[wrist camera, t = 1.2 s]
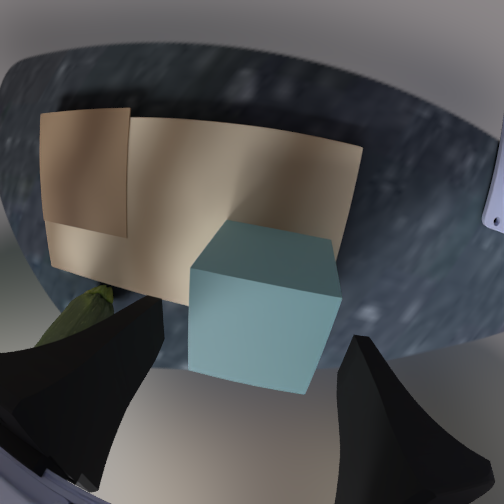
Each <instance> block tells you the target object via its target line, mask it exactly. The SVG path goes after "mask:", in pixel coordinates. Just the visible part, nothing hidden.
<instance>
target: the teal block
mask: <svg viewBox="0 0 504 504" xmlns="http://www.w3.org/2000/svg"><path fill="white" fill-rule="evenodd" d="M341 300H342V294H341V288H340V282H339V277H338V272H337V267H336V261H335V256H334V252H333V247H332V242H331V240H329V239H324V238H319V237H314V236H309V235H304V234H299V233H294V232H289V231H284V230H279V229H274V228H268V227H263V226H258V225H252V224H247V223H242V222H236V221H231V220H226V221H225V222H224V224H223V225H222V226H221V228H220V229H219V230H218V231H217V233H216V234H215V235H214V237H213V238H212V239H211V241H210V242H209V243H208V245H207V246H206V247H205V249H204V250H203V251H202V253H201V254H200V255H199V257H198V258H197V259H196V260H195V262H194V263H193V265H192V266H191V267H190V283H189V322H188V370H191V371H195V372H198V373H202V374H206V375H210V376H214V377H218V378H223V379H227V380H231V381H235V382H240V383H244V384H249V385H254V386H259V387H264V388H269V389H275V390H280V391H286V392H292V393H298V394H305V393H306V390H307V388H308V386H309V384H310V381H311V379H312V376H313V374H314V372H315V369H316V367H317V364H318V362H319V360H320V357H321V355H322V352H323V349H324V347H325V344H326V342H327V339H328V336H329V334H330V331H331V328H332V326H333V323H334V320H335V318H336V315H337V312H338V309H339V306H340V303H341Z"/></svg>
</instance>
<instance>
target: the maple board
mask: <svg viewBox="0 0 504 504" xmlns="http://www.w3.org/2000/svg"><path fill="white" fill-rule="evenodd" d="M130 116H131V108H105V109H86V110H73V111H62V112H53V113H44V114H41V119H40V179H41V195H42V207H43V217H44V220H45V225H46V233H47V240H48V247H49V253H50V259H51V264H52V266H53V267H56V268H59V269H62V270H65V271H68V272H71V273H74V274H77V275H80V276H83V277H87V278H90V279H93V280H96V281H100V282H103V283H106V284H110V285H113V286H116V287H120V288H123V289H127V290H130V291H134V292H137V293H141V294H145V295H149V296H153V297H157V298H161V299H163V300H167V301H171V302H175V303H179V304H183V305H187V306H189V283H190V267H191V266H192V265H193V263H194V262H195V260H196V259H197V258H198V257H199V255H200V254H201V253H202V251H203V250H204V249H205V247H206V246H207V245H208V243H209V242H210V241H211V239H212V238H213V237H214V235H215V234H216V233H217V231H218V230H219V229H220V228H221V226H222V225H223V224H224V222H225V221H226V220H231V221H236V222H242V223H247V224H252V225H258V226H263V227H268V228H274V229H279V230H284V231H289V232H294V233H299V234H304V235H309V236H314V237H319V238H324V239H329V240H331V242H332V247H333V252H334V256H335V261H336V259H337V255H338V252H339V248H340V245H341V241H342V237H343V233H344V229H345V226H346V222H347V218H348V214H349V210H350V205H351V201H352V197H353V193H354V188H355V184H356V179H357V175H358V170H359V165H360V161H361V156H362V151H363V148H362V147H360V146H357V145H353V144H348V143H344V142H340V141H335V140H331V139H326V138H322V137H317V136H312V135H307V134H301V133H296V132H290V131H284V130H278V129H272V128H265V127H258V126H251V125H243V124H235V123H226V122H217V121H206V120H193V119H178V118H157V117H130Z"/></svg>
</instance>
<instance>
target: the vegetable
mask: <svg viewBox="0 0 504 504" xmlns="http://www.w3.org/2000/svg"><path fill="white" fill-rule="evenodd" d="M106 286H107V285H100V286H98V287H94V288H93V289H91V290H88V291H86V292H85V293H84V294H82V295H80V296H78V297H76V298H75V299H74V300H72V301H71V302H70V303H69V305H68V306H67V307H66V308H65V310H64V311H63V312H62V313H61V315H60V316H59V317H58V318H57V319H56V320H55V321H54V322H53V323H52V325H51V326H50V327H49V328H48V330H47V331H46V332H45V333H44V335H43V336H42V338H41V339H40V341H39V342H38V343H37V344H36V345H35V347H38V346H41V345H44V344H48V343H51V342H54V341H58V340H60V339H63V338H66V337H68V336H71V335H73V334H76V333H78V332H80V331H82V330H85V329H87V328H89V327H91V326H92V325H94V324H96V323H98V322H100V321H102V320H104V319H106V318H108V317H110V316H112V315H113V314H114V309H113V305H112V303H113V290H112V288H111V287H109V288H107V287H106Z"/></svg>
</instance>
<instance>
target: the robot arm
mask: <svg viewBox="0 0 504 504" xmlns="http://www.w3.org/2000/svg"><path fill="white" fill-rule="evenodd" d="M496 217H497V220H496V222H495V223H494V219H495V218H496ZM482 222H483V224H484V225H485V226H487V227H488V228H491V229H494V230H496V231H499V232H502V233H504V117H503V125H502V132H501V138H500V144H499V149H498V155H497V160H496V165H495V169H494V174H493V178H492V182H491V186H490V190H489V194H488V197H487V201H486V205H485V208H484V211H483V215H482ZM164 339H165V338H164V325H163V309H162V299H161V298H157V297H153V296H149V295H147V296H145V297H143V298H141V299H140V300H138V301H136V302H134V303H133V304H131V305H129V306H127V307H126V308H124V309H122V310H120V311H119V312H117V313H115V314H113V315H112V316H110V317H108V318H106V319H104V320H102V321H100V322H98V323H96V324H94V325H92V326H91V327H89V328H87V329H85V330H82V331H80V332H78V333H76V334H73V335H71V336H68V337H66V338H63V339H60V340H58V341H54V342H51V343H48V344H44V345H41V346H38V347H34V348H30V349H25V350H20V351H15V352H7V353H0V504H111V503H108V502H106V501H104V500H102V499H100V498H98V497H96V496H94V495H92V494H90V493H88V492H96V491H98V490H99V486H100V482H101V478H102V474H103V471H104V467H105V464H106V461H107V457H108V455H109V452H110V449H111V446H112V443H113V441H114V438H115V435H116V433H117V430H118V428H119V425H120V423H121V421H122V418H123V416H124V413H125V411H126V409H127V407H128V405H129V404H130V402H131V400H132V398H133V397H134V395H135V393H136V392H137V390H138V388H139V387H140V385H141V383H142V381H143V380H144V378H145V377H146V375H147V373H148V372H149V370H150V368H151V367H152V365H153V363H154V362H155V360H156V358H157V355H158V353H159V351H160V349H161V346H162V344H163V341H164ZM337 408H338V421H339V435H340V464H339V476H338V484H337V492H336V498H335V504H469V503H471V502H473V501H474V500H475V499H477V498H479V497H480V496H482V495H483V494H485V493H486V492H487V491H489V490H490V489H491V488H492V486H493V485H494V483H495V479H494V475H493V471H492V467H491V464H490V461H489V460H487V459H485V458H484V457H482V456H480V455H478V454H477V453H475V452H474V451H472V450H470V449H469V448H467V447H466V446H464V445H463V444H462V443H460V442H459V441H458V440H456V439H455V438H454V437H452V436H451V435H450V434H449V433H447V432H446V431H445V430H444V429H443V428H442V427H441V426H439V425H438V424H437V423H436V422H435V421H434V420H433V419H432V418H431V417H430V416H429V415H428V414H427V413H426V412H425V411H424V410H423V409H422V408H421V406H420V405H418V403H417V402H416V401H415V400H414V399H413V397H412V396H411V395H410V394H409V392H408V391H407V390H406V389H405V387H404V386H403V385H402V383H401V382H400V381H399V380H398V378H397V377H396V375H395V374H394V372H393V371H392V370H391V369H390V367H389V365H388V364H387V362H386V361H385V359H384V358H383V356H382V355H381V353H380V352H379V350H378V349H377V348H376V346H375V345H374V343H373V342H372V340H371V339H370V338H369V337H367V336H359V335H354V336H353V338H352V340H351V343H350V345H349V348H348V350H347V352H346V355H345V357H344V359H343V362H342V364H341V366H340V368H339V370H338V374H337ZM68 481H69V482H68ZM70 482H71V483H70ZM72 483H73V484H74V485H73V484H72ZM75 485H77V486H79V487H81V488H82V489H84V490H86V491H88V492H86V491H84V490H82V489H81V488H79V487H77V486H75Z"/></svg>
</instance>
